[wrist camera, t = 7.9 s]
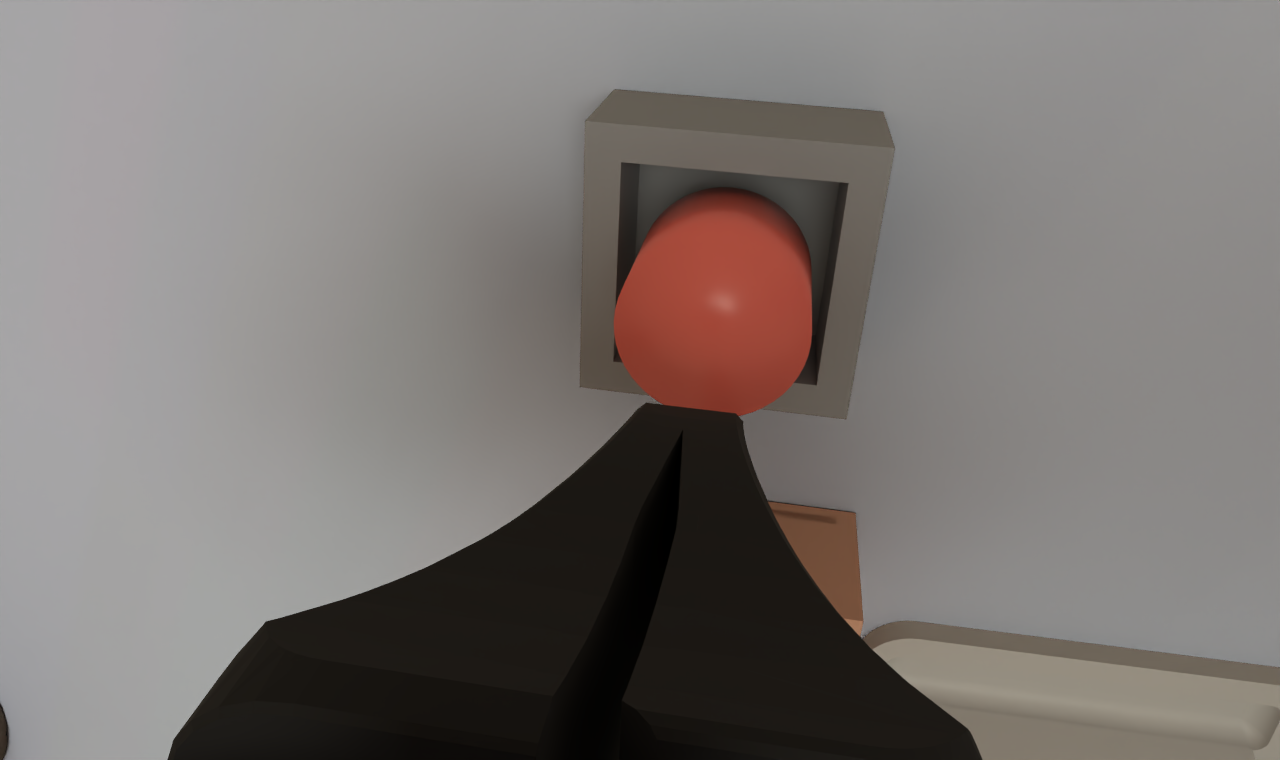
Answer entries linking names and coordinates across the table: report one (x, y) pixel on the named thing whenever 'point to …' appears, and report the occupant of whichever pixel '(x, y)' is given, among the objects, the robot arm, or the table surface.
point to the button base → (746, 159)
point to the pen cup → (827, 554)
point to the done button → (718, 303)
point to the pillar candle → (2, 735)
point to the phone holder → (1086, 696)
